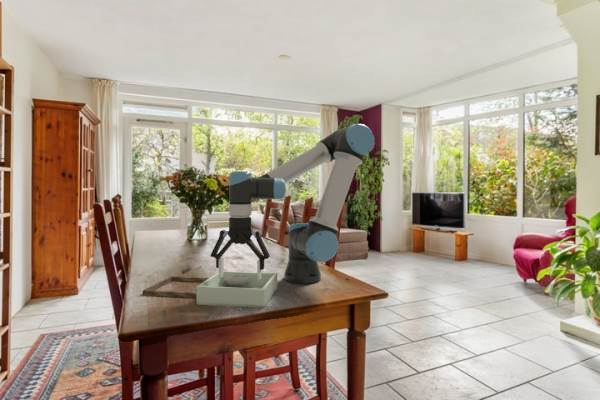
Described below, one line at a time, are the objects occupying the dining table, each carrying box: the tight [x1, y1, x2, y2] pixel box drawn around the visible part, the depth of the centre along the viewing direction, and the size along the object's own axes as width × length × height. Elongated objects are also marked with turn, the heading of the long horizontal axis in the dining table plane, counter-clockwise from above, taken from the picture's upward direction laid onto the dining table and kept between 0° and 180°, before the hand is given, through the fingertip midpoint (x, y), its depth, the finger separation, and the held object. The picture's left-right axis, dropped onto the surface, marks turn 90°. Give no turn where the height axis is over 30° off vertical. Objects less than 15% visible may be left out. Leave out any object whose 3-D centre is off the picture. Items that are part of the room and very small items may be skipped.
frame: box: [142, 275, 210, 299], centre depth 128 cm, size 22×20×2 cm
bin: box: [196, 270, 278, 309], centre depth 119 cm, size 22×21×6 cm
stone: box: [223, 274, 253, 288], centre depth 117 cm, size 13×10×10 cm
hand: (240, 278), depth 118 cm, fingers open, 13 cm apart
